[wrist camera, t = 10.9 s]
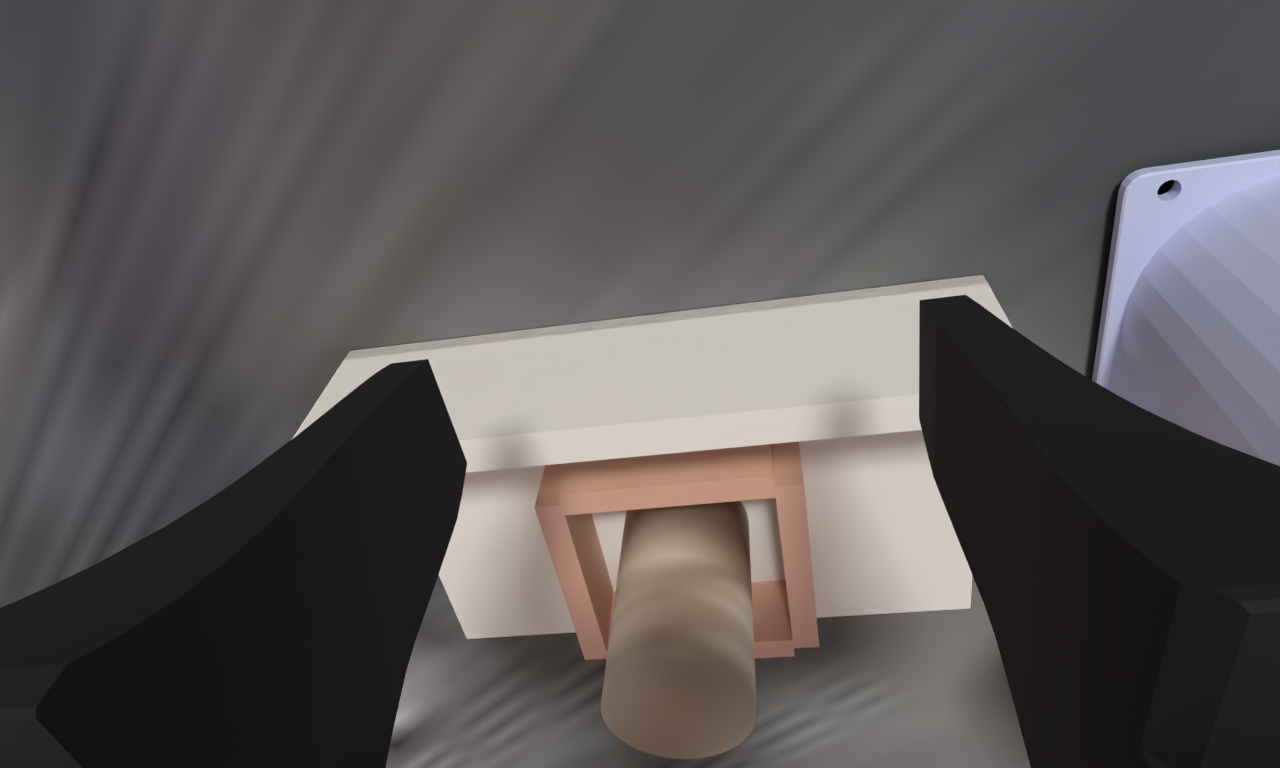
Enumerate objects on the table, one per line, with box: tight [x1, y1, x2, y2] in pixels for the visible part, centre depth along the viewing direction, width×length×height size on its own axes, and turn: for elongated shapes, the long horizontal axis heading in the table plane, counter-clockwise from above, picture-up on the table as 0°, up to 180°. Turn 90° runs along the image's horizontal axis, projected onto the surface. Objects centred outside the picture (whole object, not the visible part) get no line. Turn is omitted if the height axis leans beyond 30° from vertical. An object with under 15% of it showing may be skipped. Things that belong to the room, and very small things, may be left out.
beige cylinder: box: [601, 501, 757, 759], centre depth 25 cm, size 4×4×7 cm
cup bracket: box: [292, 275, 1012, 660], centre depth 25 cm, size 18×12×5 cm
